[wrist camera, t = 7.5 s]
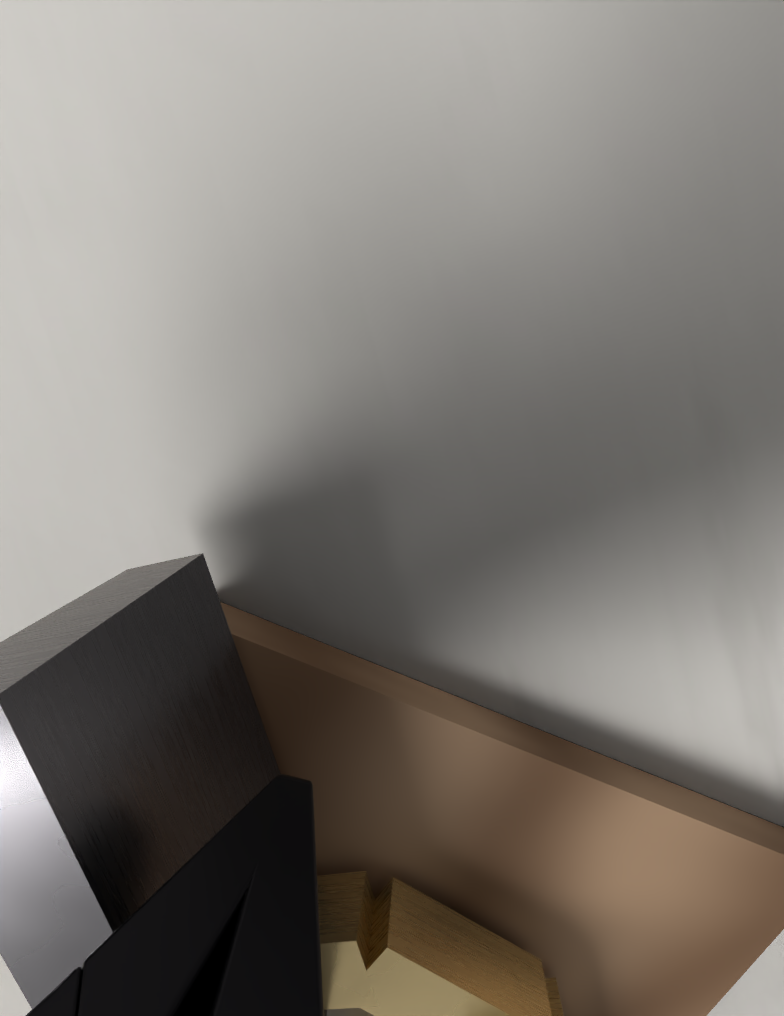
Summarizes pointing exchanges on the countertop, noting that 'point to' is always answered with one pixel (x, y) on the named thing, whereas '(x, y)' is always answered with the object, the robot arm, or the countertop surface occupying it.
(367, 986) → the gold ring with handle
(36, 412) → the countertop surface
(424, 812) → the flange board
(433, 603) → the countertop surface
